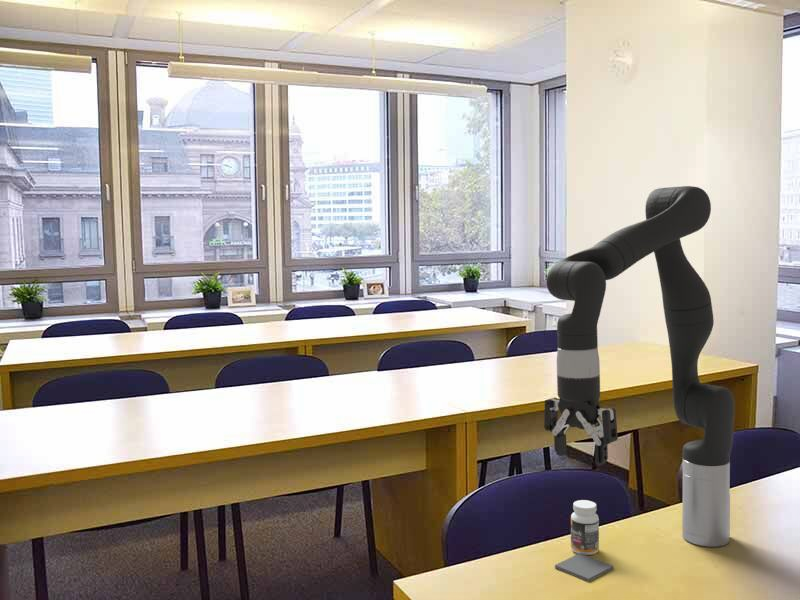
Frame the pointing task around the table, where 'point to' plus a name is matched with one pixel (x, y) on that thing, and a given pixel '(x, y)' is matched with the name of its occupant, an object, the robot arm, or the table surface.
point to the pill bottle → (584, 528)
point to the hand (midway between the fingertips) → (580, 459)
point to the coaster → (584, 567)
